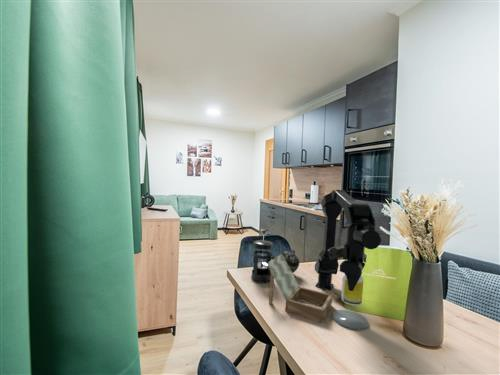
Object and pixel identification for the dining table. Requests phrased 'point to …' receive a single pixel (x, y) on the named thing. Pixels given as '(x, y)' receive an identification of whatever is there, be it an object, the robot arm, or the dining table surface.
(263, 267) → the french press
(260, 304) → the dining table surface
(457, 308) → the dining table surface
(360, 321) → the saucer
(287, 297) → the cold frame
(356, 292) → the pill bottle
